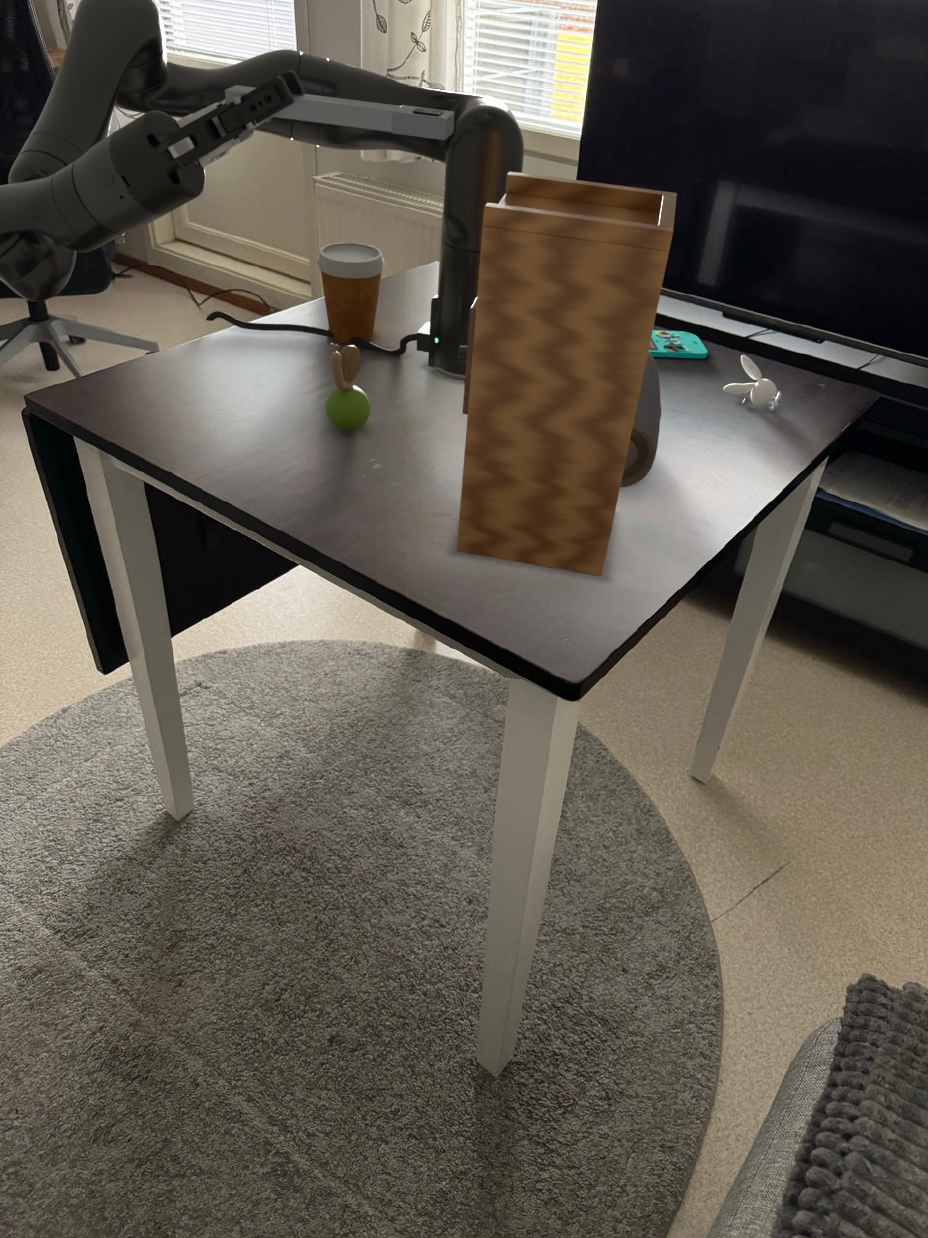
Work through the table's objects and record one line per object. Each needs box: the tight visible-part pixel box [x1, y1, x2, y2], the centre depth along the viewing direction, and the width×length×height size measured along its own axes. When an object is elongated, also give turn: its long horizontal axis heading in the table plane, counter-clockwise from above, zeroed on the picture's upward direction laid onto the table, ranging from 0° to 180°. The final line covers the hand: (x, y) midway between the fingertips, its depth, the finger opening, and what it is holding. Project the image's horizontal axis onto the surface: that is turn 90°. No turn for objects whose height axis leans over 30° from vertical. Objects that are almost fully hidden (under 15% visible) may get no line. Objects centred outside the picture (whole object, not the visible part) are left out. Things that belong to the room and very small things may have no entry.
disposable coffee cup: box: [316, 241, 386, 345], centre depth 131 cm, size 10×10×12 cm
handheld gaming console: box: [649, 329, 708, 359], centre depth 139 cm, size 8×1×15 cm
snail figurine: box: [324, 342, 371, 432], centre depth 108 cm, size 5×6×12 cm
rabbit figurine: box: [723, 354, 782, 412], centre depth 125 cm, size 6×4×8 cm
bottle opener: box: [225, 85, 455, 140], centre depth 76 cm, size 19×3×2 cm, turn 78°
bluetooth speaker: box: [620, 351, 662, 489], centre depth 110 cm, size 23×9×10 cm, turn 170°
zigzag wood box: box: [456, 171, 678, 577], centre depth 87 cm, size 17×12×34 cm
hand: (292, 85), depth 76 cm, fingers closed on bottle opener, 2 cm apart
